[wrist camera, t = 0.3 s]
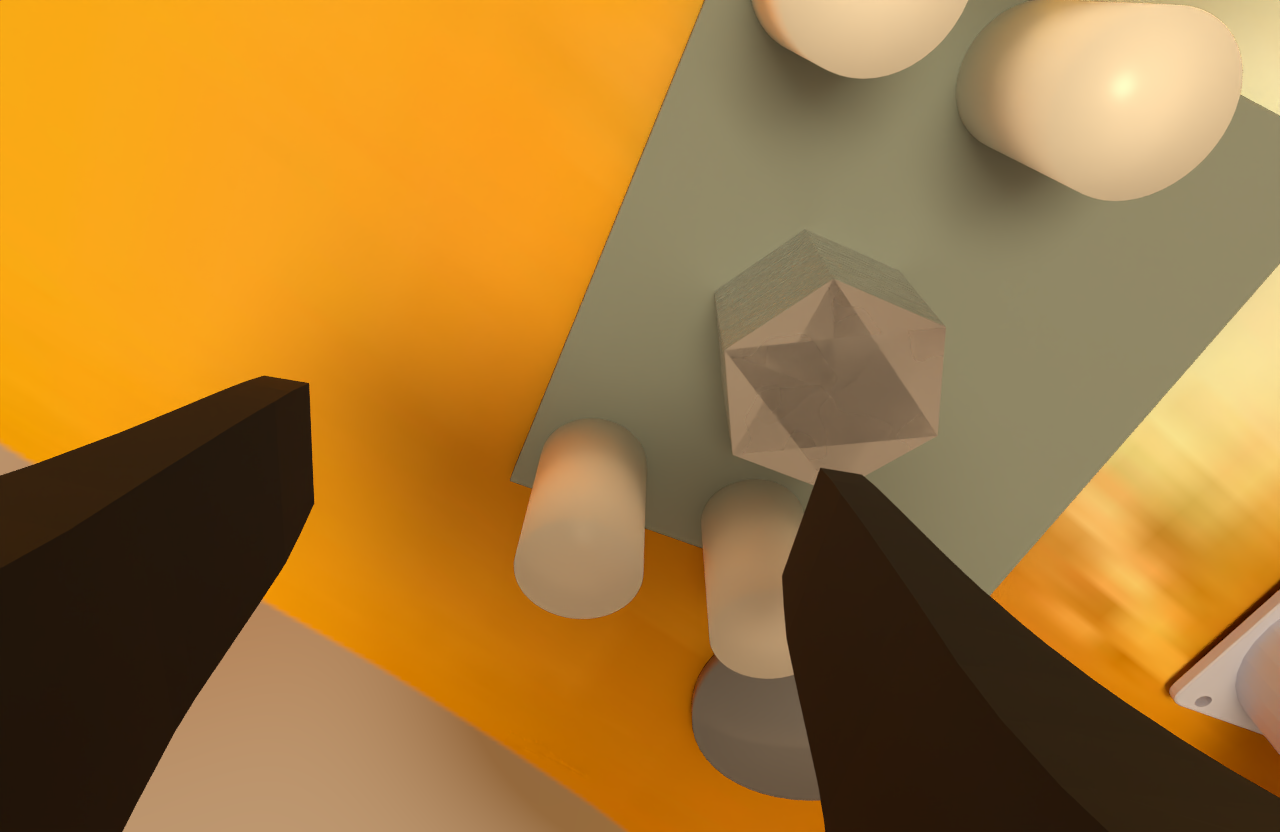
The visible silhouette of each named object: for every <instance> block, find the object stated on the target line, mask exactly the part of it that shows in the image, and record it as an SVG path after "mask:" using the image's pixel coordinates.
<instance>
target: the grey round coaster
mask: <svg viewBox="0 0 1280 832" xmlns="http://www.w3.org/2000/svg"><path fill="white" fill-rule="evenodd" d="M692 725H693V732H694V736H695V739H696V742H697V744H698V746H699V748H700V750H701V752H702V753H703V755H704V756H705V758H706V759H707V760H708V761H709V762H710V763H711V764H712V765H713V767H714V768H716V769H717V770H718V771H719V772H721V773H722V774H723V775H724V776H726V777H727V778H729V779H731V780H732V781H734V782H735V783H737V784H740V785H742V786H744V787H746V788H748V789H751V790H754V791H757V792H759V793H762V794H766V795H770V796H774V797H780V798H786V799H793V800H821V799H820V794H819V788H818V783H817V778H816V773H815V769H814V764H813V760H812V755H811V751H810V746H809V742H808V737H807V732H806V728H805V723H804V719H803V714H802V710H801V705H800V701H799V696H798V692H797V687H796V682H795V678H794V675H791V676H787V677H783V678H775V679H762V678H754V677H749V676H745V675H742V674H739V673H737V672H735V671H733V670H731V669H729V668H728V667H726V666H725V665H724V664H723V663H722V662H720V660H719V659H718V658H717V657H716V655H714V656H713V657H712V658H711V659H710V660H709V662H708V663H707V664H706V666H705V667H704V668H703V670H702V672H701V674H700V675H699V677H698V679H697V682H696V685H695V687H694V690H693V696H692Z"/></svg>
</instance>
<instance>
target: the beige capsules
mask: <svg viewBox="0 0 1280 832" xmlns="http://www.w3.org/2000/svg"><path fill="white" fill-rule="evenodd" d="M751 1H752V6H753V8H754V11H755V14H756V16H757V18H758V20H759V22H760V24H761V25H762V27H763V28H764V30H765V31H766V32H767V33H768V35H769V36H770V37H771V38H772V39H773V40H775V41H776V42H777V43H778V44H780V45H781V46H783V47H785V48H786V49H788V50H790V51H792V52H794V53H796V54H797V55H799V56H801V57H803V58H805V59H807V60H809V61H811V62H813V63H814V64H816V65H818V66H820V67H822V68H824V69H826V70H828V71H830V72H832V73H835V74H838V75H841V76H845V77H849V78H859V79H867V78H878V77H883V76H887V75H890V74H893V73H896V72H899V71H901V70H903V69H906V68H908V67H910V66H912V65H913V64H915V63H916V62H918V61H919V60H921V59H923V58H924V57H925V56H926V55H928V54H929V53H930V52H931V51H932V50H934V49H935V48H936V47H937V46H938V45H939V44H940V43H941V42H942V41H943V40H944V38H945V37H946V36H947V35H948V33H949V32H950V31H951V30H952V28H953V27H954V25H955V24H956V22H957V21H958V19H959V17H960V16H961V14H962V12H963V10H964V8H965V6H966V4H967V2H968V0H751ZM1242 74H1243V69H1242V59H1241V55H1240V51H1239V47H1238V45H1237V43H1236V40H1235V38H1234V36H1233V35H1232V33H1231V32H1230V30H1229V29H1228V27H1227V26H1226V25H1225V24H1224V23H1223V22H1222V21H1221V20H1220V19H1218V18H1217V17H1215V16H1214V15H1212V14H1211V13H1209V12H1207V11H1204V10H1202V9H1200V8H1196V7H1192V6H1188V5H1176V4H1154V3H1131V2H1108V1H1085V0H1032V1H1027V2H1024V3H1021V4H1018V5H1016V6H1014V7H1012V8H1010V9H1008V10H1006V11H1005V12H1003V13H1001V14H1000V15H998V16H997V17H996V18H995V19H993V20H992V21H991V22H990V23H989V24H988V25H987V26H986V27H985V28H984V29H983V30H982V31H981V32H980V33H979V34H978V36H977V37H976V38H975V39H974V41H973V42H972V44H971V46H970V47H969V49H968V51H967V53H966V55H965V57H964V59H963V61H962V64H961V67H960V70H959V74H958V78H957V86H956V100H957V107H958V111H959V115H960V117H961V120H962V122H963V124H964V125H965V127H966V129H967V130H968V131H969V132H970V134H971V135H972V136H973V137H974V138H976V139H977V140H978V141H979V142H981V143H983V144H984V145H986V146H988V147H990V148H992V149H994V150H996V151H998V152H1000V153H1002V154H1004V155H1006V156H1008V157H1010V158H1012V159H1014V160H1016V161H1018V162H1020V163H1022V164H1024V165H1026V166H1028V167H1030V168H1032V169H1034V170H1036V171H1038V172H1040V173H1042V174H1044V175H1046V176H1048V177H1050V178H1052V179H1054V180H1056V181H1058V182H1060V183H1062V184H1064V185H1066V186H1068V187H1070V188H1072V189H1074V190H1076V191H1078V192H1080V193H1081V194H1084V195H1086V196H1089V197H1091V198H1095V199H1100V200H1106V201H1126V200H1131V199H1137V198H1141V197H1144V196H1148V195H1151V194H1153V193H1155V192H1158V191H1160V190H1163V189H1164V188H1166V187H1168V186H1170V185H1172V184H1174V183H1175V182H1177V181H1178V180H1180V179H1181V178H1183V177H1184V176H1186V175H1187V174H1188V173H1189V172H1190V171H1192V170H1193V169H1194V168H1195V167H1197V166H1198V165H1199V164H1200V163H1201V162H1202V161H1203V160H1204V159H1205V158H1206V157H1207V155H1208V154H1209V153H1210V152H1211V151H1212V150H1213V148H1214V147H1215V146H1216V145H1217V143H1218V142H1219V140H1220V139H1221V137H1222V136H1223V134H1224V133H1225V131H1226V129H1227V127H1228V126H1229V124H1230V122H1231V120H1232V117H1233V115H1234V113H1235V110H1236V107H1237V104H1238V101H1239V97H1240V92H1241V87H1242ZM646 470H647V463H646V456H645V452H644V450H643V447H642V446H641V444H640V442H639V441H638V440H637V438H636V437H635V436H634V435H633V434H632V433H631V432H630V431H628V430H627V429H626V428H624V427H622V426H621V425H619V424H616V423H614V422H611V421H608V420H603V419H596V418H585V419H579V420H575V421H571V422H569V423H567V424H564V425H563V426H561V427H559V428H558V429H557V430H555V431H554V432H553V433H552V434H551V435H550V436H549V438H548V439H547V441H546V442H545V444H544V446H543V449H542V452H541V456H540V460H539V464H538V468H537V472H536V476H535V480H534V484H533V488H532V492H531V496H530V500H529V503H528V507H527V511H526V515H525V519H524V523H523V527H522V531H521V535H520V539H519V543H518V547H517V551H516V555H515V560H514V573H515V577H516V580H517V583H518V585H519V586H520V588H521V590H522V591H523V593H524V594H525V595H526V596H527V597H528V598H529V599H530V600H531V601H532V602H533V603H535V604H536V605H537V606H539V607H541V608H542V609H544V610H546V611H548V612H550V613H553V614H556V615H559V616H563V617H567V618H574V619H591V618H598V617H602V616H606V615H609V614H612V613H614V612H616V611H618V610H620V609H621V608H623V607H624V606H626V605H627V604H628V603H629V602H630V601H631V600H632V599H633V598H634V597H635V595H636V594H637V592H638V591H639V589H640V587H641V584H642V580H643V570H644V537H645V503H646ZM803 515H804V513H803V510H802V506H801V504H800V502H799V501H798V499H797V498H796V496H795V495H794V494H793V493H792V492H791V491H789V490H788V489H787V488H785V487H783V486H782V485H780V484H777V483H774V482H771V481H767V480H759V479H751V480H743V481H739V482H735V483H732V484H730V485H728V486H726V487H724V488H722V489H721V490H719V491H718V492H717V493H715V494H714V495H713V496H712V497H711V498H710V500H709V501H708V502H707V504H706V506H705V508H704V510H703V513H702V517H701V530H702V544H703V557H704V571H705V585H706V598H707V612H708V625H709V639H710V645H711V648H712V650H713V652H714V654H715V655H716V657H717V658H718V659H719V660H720V662H722V663H723V664H724V665H725V666H726V667H728V668H729V669H731V670H733V671H735V672H737V673H739V674H742V675H745V676H749V677H754V678H762V679H775V678H783V677H787V676H791V675H794V673H793V668H792V663H791V659H790V654H789V649H788V644H787V639H786V628H785V617H784V604H783V587H782V574H783V571H784V568H785V565H786V563H787V560H788V557H789V554H790V551H791V549H792V546H793V543H794V540H795V537H796V534H797V532H798V529H799V526H800V523H801V520H802V518H803Z"/></svg>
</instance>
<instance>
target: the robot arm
mask: <svg viewBox="0 0 1280 832" xmlns="http://www.w3.org/2000/svg"><path fill="white" fill-rule="evenodd" d="M313 505H314V488H313V465H312V442H311V418H310V395H309V383H305V382H299V381H293V380H287V379H281V378H275V377H269V376H261V377H258V378H255V379H252V380H249V381H246V382H243V383H240V384H238V385H235V386H232V387H230V388H227V389H225V390H222V391H220V392H217V393H215V394H213V395H210V396H208V397H205V398H203V399H200V400H198V401H196V402H193V403H191V404H189V405H186V406H184V407H181V408H179V409H176V410H174V411H172V412H169V413H167V414H164V415H162V416H159V417H157V418H155V419H152V420H150V421H147V422H145V423H142V424H140V425H138V426H135V427H133V428H130V429H128V430H125V431H123V432H120V433H118V434H115V435H112V436H110V437H107V438H104V439H101V440H99V441H96V442H93V443H91V444H88V445H85V446H83V447H80V448H77V449H75V450H72V451H69V452H66V453H64V454H61V455H58V456H56V457H53V458H50V459H48V460H45V461H42V462H40V463H37V464H34V465H31V466H28V467H25V468H22V469H20V470H16V471H13V472H10V473H7V474H4V475H1V476H0V832H122V831H123V829H124V827H125V825H126V823H127V821H128V820H129V817H130V816H131V814H132V812H133V810H134V808H135V806H136V804H137V802H138V800H139V798H140V796H141V794H142V792H143V791H144V789H145V787H146V785H147V783H148V781H149V779H150V777H151V776H152V774H153V772H154V770H155V768H156V766H157V764H158V762H159V760H160V759H161V757H162V755H163V753H164V751H165V749H166V747H167V745H168V744H169V742H170V740H171V738H172V736H173V734H174V732H175V731H176V729H177V727H178V726H179V724H180V723H181V721H182V719H183V718H184V716H185V714H186V713H187V711H188V710H189V708H190V706H191V705H192V703H193V701H194V700H195V698H196V697H197V695H198V694H199V692H200V691H201V689H202V688H203V686H204V685H205V683H206V682H207V680H208V679H209V677H210V676H211V674H212V673H213V671H214V670H215V668H216V667H217V666H218V664H219V663H220V661H221V660H222V658H223V657H224V655H225V653H226V652H227V651H228V649H229V648H230V646H231V645H232V643H233V642H234V640H235V639H236V637H237V636H238V634H239V633H240V631H241V630H242V628H243V627H244V625H245V624H246V623H247V621H248V619H249V618H250V617H251V615H252V613H253V612H254V611H255V609H256V608H257V606H258V605H259V603H260V602H261V600H262V599H263V597H264V596H265V594H266V593H267V591H268V589H269V588H270V586H271V585H272V583H273V582H274V580H275V579H276V577H277V576H278V574H279V573H280V571H281V570H282V568H283V566H284V565H285V563H286V561H287V559H288V557H289V555H290V553H291V551H292V549H293V547H294V545H295V543H296V541H297V539H298V537H299V535H300V533H301V531H302V529H303V527H304V524H305V522H306V520H307V518H308V516H309V514H310V511H311V509H312V507H313ZM782 587H783V604H784V617H785V628H786V639H787V644H788V649H789V654H790V659H791V663H792V668H793V673H794V678H795V682H796V687H797V692H798V696H799V701H800V705H801V710H802V714H803V719H804V723H805V728H806V732H807V737H808V742H809V746H810V751H811V755H812V760H813V764H814V769H815V773H816V778H817V783H818V788H819V794H820V799H821V805H822V811H823V817H824V824H825V832H1280V798H1279V797H1277V796H1275V795H1273V794H1272V793H1270V792H1268V791H1267V790H1265V789H1263V788H1261V787H1260V786H1258V785H1256V784H1254V783H1253V782H1251V781H1249V780H1247V779H1246V778H1244V777H1242V776H1241V775H1239V774H1237V773H1235V772H1234V771H1232V770H1230V769H1229V768H1227V767H1225V766H1224V765H1222V764H1220V763H1219V762H1217V761H1215V760H1214V759H1212V758H1211V757H1209V756H1207V755H1206V754H1204V753H1202V752H1201V751H1199V750H1198V749H1196V748H1194V747H1193V746H1191V745H1189V744H1188V743H1186V742H1185V741H1183V740H1182V739H1180V738H1179V737H1177V736H1175V735H1174V734H1172V733H1171V732H1169V731H1168V730H1166V729H1165V728H1163V727H1162V726H1160V725H1159V724H1157V723H1156V722H1154V721H1153V720H1151V719H1150V718H1148V717H1147V716H1145V715H1144V714H1142V713H1141V712H1139V711H1138V710H1136V709H1135V708H1133V707H1132V706H1130V705H1129V704H1127V703H1126V702H1124V701H1123V700H1121V699H1120V698H1119V697H1117V696H1116V695H1114V694H1113V693H1111V692H1110V691H1109V690H1107V689H1106V688H1104V687H1103V686H1102V685H1100V684H1099V683H1097V682H1096V681H1095V680H1093V679H1092V678H1090V677H1089V676H1088V675H1087V674H1085V673H1084V672H1083V671H1081V670H1080V669H1079V668H1077V667H1076V666H1075V665H1073V664H1072V663H1071V662H1069V661H1068V660H1067V659H1066V658H1064V657H1063V656H1062V655H1060V654H1059V653H1058V652H1056V651H1055V650H1054V649H1052V648H1051V647H1050V646H1048V645H1047V644H1046V643H1045V642H1043V641H1042V640H1041V639H1040V638H1038V637H1037V636H1036V635H1035V634H1033V633H1032V632H1031V631H1030V630H1029V629H1027V628H1026V627H1025V626H1024V625H1022V624H1021V623H1020V622H1019V621H1018V620H1017V619H1015V618H1014V617H1013V616H1012V615H1011V614H1010V613H1009V612H1007V611H1006V610H1005V609H1004V608H1003V607H1002V606H1001V605H999V604H998V603H997V602H996V601H995V600H994V599H993V598H991V597H990V596H989V595H988V594H987V593H986V592H985V591H983V590H982V589H981V588H980V587H979V586H978V585H977V584H976V583H975V582H974V581H973V580H972V579H970V578H969V577H968V576H967V575H966V574H965V573H964V572H963V571H962V570H961V569H960V568H959V567H958V566H957V565H955V564H954V563H953V562H952V561H951V560H950V559H949V558H948V557H947V556H946V555H945V554H944V553H943V552H942V551H941V550H940V549H939V548H938V547H937V546H936V545H935V544H934V543H933V542H932V541H931V540H930V539H929V538H928V537H927V536H926V535H925V534H924V533H923V532H922V531H921V530H920V529H919V528H918V527H917V526H916V525H915V524H914V523H913V522H912V521H911V520H910V519H909V518H908V517H907V516H906V515H905V514H904V513H903V512H902V511H901V510H900V509H899V508H897V507H896V506H895V505H894V504H893V503H892V502H891V501H890V500H889V499H888V498H887V497H886V496H885V495H884V494H883V493H882V492H881V491H880V490H879V489H878V488H877V487H876V486H875V485H874V484H872V483H871V482H870V481H869V480H868V479H867V478H865V477H864V476H863V475H862V474H856V473H850V472H844V471H838V470H832V469H826V468H820V470H819V472H818V475H817V478H816V481H815V484H814V487H813V489H812V492H811V495H810V498H809V501H808V503H807V506H806V509H805V512H804V515H803V518H802V520H801V523H800V526H799V529H798V532H797V534H796V537H795V540H794V543H793V546H792V549H791V551H790V554H789V557H788V560H787V563H786V565H785V568H784V571H783V574H782ZM1169 693H1170V695H1171V697H1172V698H1173V700H1174V701H1175V702H1176V703H1177V704H1178V705H1180V706H1183V707H1186V708H1188V709H1191V710H1194V711H1197V712H1200V713H1203V714H1205V715H1208V716H1211V717H1214V718H1217V719H1220V720H1222V721H1225V722H1228V723H1231V724H1234V725H1237V726H1239V727H1242V728H1245V729H1248V730H1251V731H1254V732H1256V733H1259V734H1262V735H1264V736H1265V737H1266V738H1267V740H1268V741H1269V742H1270V743H1271V745H1272V746H1273V747H1274V748H1275V750H1276V751H1277V752H1278V753H1279V755H1280V589H1279V590H1278V591H1277V592H1276V593H1275V594H1274V595H1273V596H1271V597H1270V598H1269V599H1268V600H1267V601H1266V602H1265V603H1264V604H1263V605H1261V606H1260V607H1259V608H1258V609H1257V610H1256V611H1255V612H1254V613H1252V614H1251V615H1250V616H1249V617H1248V618H1247V619H1246V620H1245V621H1243V622H1242V623H1241V624H1240V625H1239V626H1238V627H1237V628H1236V629H1234V630H1233V631H1232V632H1231V633H1230V634H1229V635H1228V636H1227V637H1225V638H1224V639H1223V640H1222V641H1221V642H1220V643H1219V644H1218V645H1216V646H1215V647H1214V648H1213V649H1212V650H1211V651H1210V652H1209V653H1207V654H1206V655H1205V656H1204V657H1203V658H1202V659H1201V660H1200V661H1198V662H1197V663H1196V664H1195V665H1194V666H1193V667H1192V668H1191V669H1189V670H1188V671H1187V672H1186V673H1185V674H1184V675H1183V676H1182V677H1180V678H1179V679H1178V680H1177V681H1176V682H1175V683H1174V684H1173V685H1172V686H1171V688H1170V691H1169Z"/></svg>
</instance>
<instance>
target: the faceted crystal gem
mask: <svg viewBox="0 0 1280 832" xmlns="http://www.w3.org/2000/svg"><path fill="white" fill-rule="evenodd" d="M714 293H715V306H716V318H717V330H718V342H719V354H720V366H721V378H722V388H723V394H724V401H725V407H726V414H727V421H728V427H729V434H730V440H731V447H732V454H733V455H735V456H737V457H740V458H742V459H745V460H748V461H750V462H753V463H756V464H758V465H761V466H764V467H766V468H769V469H772V470H774V471H777V472H780V473H782V474H785V475H788V476H790V477H793V478H796V479H798V480H801V481H804V482H806V483H809V484H812V485H814V484H815V481H816V478H817V475H818V472H819V470H820V468H826V469H832V470H838V471H844V472H850V473H856V474H862V475H863V476H866V475H868V474H869V473H871V472H873V471H875V470H877V469H878V468H880V467H882V466H884V465H886V464H887V463H889V462H891V461H893V460H895V459H897V458H898V457H900V456H902V455H904V454H906V453H907V452H909V451H911V450H913V449H915V448H916V447H918V446H920V445H922V444H924V443H926V442H927V441H929V440H931V439H933V438H935V437H936V436H938V424H939V411H940V398H941V385H942V372H943V359H944V346H945V333H946V327H945V325H944V324H943V323H942V322H941V320H940V319H939V318H938V317H937V316H936V314H935V313H934V312H933V311H932V310H931V308H930V307H929V306H928V305H927V304H926V302H925V301H924V300H923V299H922V297H921V296H920V295H919V294H918V293H917V291H916V290H915V289H914V288H913V287H912V285H911V284H910V283H909V282H908V280H907V279H906V278H905V277H904V276H903V274H902V273H901V272H900V271H899V270H897V269H895V268H892V267H890V266H888V265H886V264H883V263H881V262H879V261H877V260H874V259H872V258H870V257H867V256H865V255H863V254H861V253H858V252H856V251H854V250H852V249H849V248H847V247H845V246H843V245H840V244H838V243H836V242H833V241H831V240H829V239H827V238H824V237H822V236H820V235H818V234H815V233H813V232H811V231H808V230H806V229H804V230H802V231H801V232H800V233H798V234H797V235H795V236H794V237H792V238H791V239H789V240H788V241H786V242H785V243H784V244H782V245H781V246H779V247H778V248H776V249H775V250H773V251H772V252H770V253H769V254H767V255H766V256H765V257H763V258H762V259H760V260H759V261H757V262H756V263H754V264H753V265H751V266H750V267H749V268H747V269H746V270H744V271H743V272H741V273H740V274H738V275H737V276H735V277H734V278H733V279H731V280H730V281H728V282H727V283H725V284H724V285H722V286H721V287H719V288H718V289H716V290H715V291H714Z"/></svg>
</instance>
